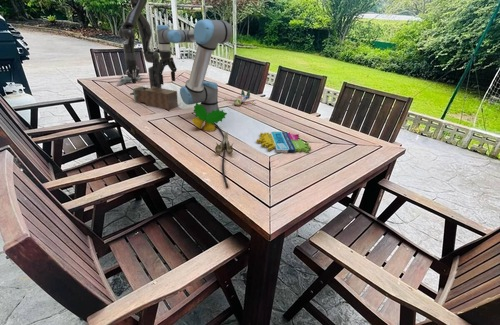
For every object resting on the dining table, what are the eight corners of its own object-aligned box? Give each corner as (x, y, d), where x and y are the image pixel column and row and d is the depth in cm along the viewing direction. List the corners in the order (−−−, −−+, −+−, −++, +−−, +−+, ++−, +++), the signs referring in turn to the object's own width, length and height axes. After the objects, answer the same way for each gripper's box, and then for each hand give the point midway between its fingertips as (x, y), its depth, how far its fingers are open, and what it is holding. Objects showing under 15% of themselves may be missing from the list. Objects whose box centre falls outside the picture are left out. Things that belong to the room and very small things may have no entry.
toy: (261, 91, 228) (254, 99, 202) (261, 99, 231) (253, 108, 205) (231, 87, 233) (220, 95, 207) (230, 95, 236) (219, 104, 210)
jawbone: (234, 135, 144) (233, 125, 135) (233, 160, 138) (232, 151, 129) (217, 135, 144) (216, 125, 135) (216, 160, 138) (214, 150, 129)
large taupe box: (145, 105, 197) (143, 89, 191) (155, 101, 206) (153, 86, 200) (169, 109, 191) (167, 94, 185) (177, 106, 200) (176, 91, 194)
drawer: (129, 100, 202) (127, 87, 197) (138, 97, 210) (136, 85, 205) (156, 105, 194) (154, 92, 190) (164, 102, 202) (163, 90, 198)
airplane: (112, 78, 264) (110, 67, 259) (144, 76, 278) (143, 66, 272) (114, 87, 236) (112, 76, 231) (151, 85, 249) (149, 74, 244)
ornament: (218, 133, 171) (224, 110, 169) (221, 134, 163) (227, 111, 161) (186, 125, 162) (192, 101, 160) (189, 126, 155) (195, 101, 153)
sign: (313, 150, 142) (258, 149, 139) (312, 153, 143) (258, 152, 140) (301, 132, 164) (254, 130, 161) (301, 134, 165) (254, 133, 162)
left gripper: (133, 57, 197) (136, 81, 205) (119, 59, 186) (123, 84, 194) (141, 58, 195) (144, 82, 203) (127, 60, 184) (131, 85, 192)
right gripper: (171, 48, 188) (173, 78, 199) (147, 51, 168) (151, 85, 178) (180, 49, 186) (182, 80, 197) (157, 52, 166) (160, 86, 176)
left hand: (134, 83), depth 199 cm, fingers closed
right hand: (167, 82), depth 187 cm, fingers open, 13 cm apart
